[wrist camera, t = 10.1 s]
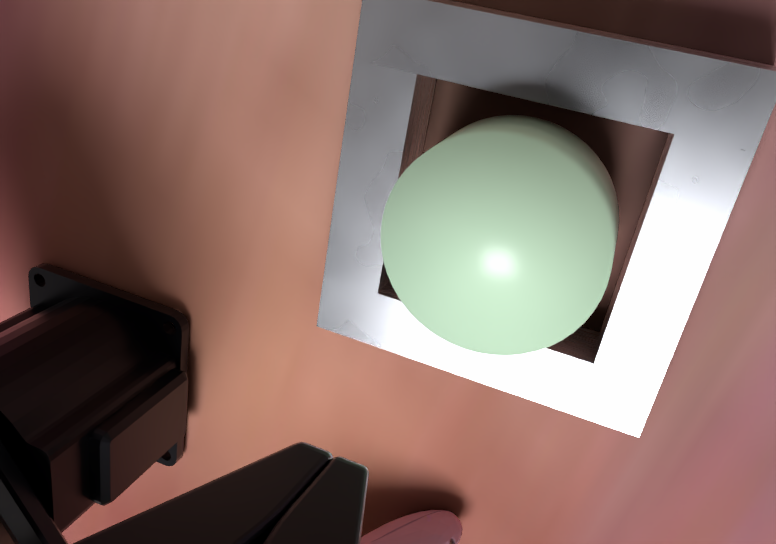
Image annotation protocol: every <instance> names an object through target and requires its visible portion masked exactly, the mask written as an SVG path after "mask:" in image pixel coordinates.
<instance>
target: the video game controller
mask: <svg viewBox="0 0 776 544" xmlns="http://www.w3.org/2000/svg"><path fill="white" fill-rule="evenodd" d="M461 535H462V525H461V522H460V520H459V519H458V518H457V516H456V515H455V514H453V513H452V512H450V511H444V510H429V511H422V512H417V513H413V514H410V515H406V516H403V517H401V518H398V519H396V520H393V521H391V522H388V523H386V524H384V525H382V526H380V527H379V528H377V529H375V530H373V531H371V532H369V533H368V534H366V535H364V536H363V537H361V542H360V544H458V543H459V540H460V537H461Z"/></svg>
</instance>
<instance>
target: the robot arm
mask: <svg viewBox="0 0 776 544" xmlns="http://www.w3.org/2000/svg"><path fill="white" fill-rule="evenodd" d="M29 290H30V305H31V308H29V309H27V310H25V311H23V312H21V313H19V314H17V315H15V316H13V317H11V318H9V319H7V320H5V321H3V322H1V323H0V544H68V543H67V541H66V539H65V538H64V536H63V535H62V532H63V531H64V530H65V529H66V528H68V527H69V526H70V525H71V524H72V523H73V522H74V521H75V520H77V519H78V518H79V517H80V516H81V515H82V514H83V513H84V512H85V511H87V510H88V509H89V508H90V507H91V506H92V505H93V504H94V503H95V502H96V503H98V504H100V505H103V506H105V505H107V504H109V503H111V502H112V501H114V500H115V499H116V498H117V497H118V496H119V495H120V494H121V493H122V492H123V491H125V490H126V489H127V488H128V487H129V486H130V485H131V484H132V483H133V482H134V481H135V480H136V479H138V478H139V477H140V476H141V475H142V474H143V473H144V472H145V471H146V470H147V469H148V468H149V467H151V466H152V465H153V464H154V463H155V462H159V463H161V464H163V465H166V466H173V465H174V464H175V463H176V462H177V461H178V460H179V459H180V458H182V456H183V446H184V435H185V433H186V419H187V399H188V377H187V363H188V342H189V323H188V321H187V319H186V317H185V316H184V315H183V314H182V313H181V312H179V311H177V310H174V309H172V308H169V307H166V306H163V305H161V304H158V303H155V302H152V301H150V300H147V299H144V298H141V297H138V296H136V295H133V294H130V293H127V292H125V291H122V290H119V289H116V288H113V287H111V286H108V285H105V284H102V283H100V282H97V281H94V280H91V279H88V278H86V277H83V276H80V275H77V274H75V273H72V272H69V271H66V270H63V269H61V268H58V267H55V266H52V265H50V264H45V263H43V264H40V265H38V266H36V267H33V268H31V270H30V271H29ZM171 323H173V324H174V326H175V328H176V329H175V328H173V326H172V325H171ZM368 477H369V471H368V469H367V467H365V466H364V465H361V464H358V463H356V462H353V461H351V460H348V459H346V458H343V457H340V456H339V457H335V458H334V457H333V456H332V454H331V453H330V452H328V451H326V450H323V449H321V448H318V447H316V446H313V445H310V444H308V443H304V442H300V443H296V444H293V445H291V446H289V447H286V448H284V449H282V450H280V451H278V452H275V453H273V454H271V455H269V456H266V457H264V458H262V459H260V460H258V461H255V462H253V463H251V464H249V465H246V466H244V467H242V468H240V469H238V470H235V471H233V472H231V473H229V474H226V475H224V476H222V477H220V478H218V479H215V480H213V481H211V482H209V483H206V484H204V485H202V486H200V487H198V488H195V489H193V490H191V491H189V492H186V493H184V494H182V495H180V496H178V497H175V498H173V499H171V500H169V501H166V502H164V503H162V504H160V505H158V506H155V507H153V508H151V509H149V510H146V511H144V512H142V513H140V514H138V515H135V516H133V517H131V518H129V519H126V520H124V521H122V522H120V523H117V524H115V525H113V526H111V527H109V528H106V529H104V530H102V531H100V532H97V533H95V534H93V535H91V536H89V537H86V538H84V539H82V540H80V541H77V542H75V543H73V544H360V542H361V534H362V525H363V517H364V509H365V501H366V493H367V485H368Z"/></svg>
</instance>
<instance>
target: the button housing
mask: <svg viewBox="0 0 776 544" xmlns="http://www.w3.org/2000/svg"><path fill="white" fill-rule="evenodd" d="M437 79H440V80H444V81H449V82H453V83H457V84H462V85H466V86H470V87H474V88H479V89H483V90H487V91H492V92H496V93H500V94H504V95H509V96H513V97H517V98H522V99H526V100H530V101H534V102H539V103H543V104H547V105H552V106H556V107H560V108H564V109H569V110H573V111H577V112H582V113H586V114H590V115H594V116H599V117H603V118H607V119H612V120H616V121H620V122H624V123H629V124H633V125H637V126H642V127H646V128H650V129H654V130H659V131H663V132H667V133H669V134H668V137H667V140H666V143H665V146H664V149H663V151H662V154H661V157H660V160H659V163H658V166H657V169H656V172H655V175H654V177H653V180H652V183H651V186H650V189H649V192H648V195H647V198H646V200H645V203H644V206H643V209H642V212H641V215H640V218H639V221H638V223H637V226H636V229H635V232H634V235H633V238H632V241H631V244H630V246H629V249H628V252H627V255H626V258H625V261H624V264H623V267H622V270H621V272H620V275H619V278H618V281H617V284H616V287H615V290H614V293H613V295H612V298H611V301H610V304H609V307H608V310H607V313H606V316H605V318H604V321H603V324H602V327H601V330H600V333H599V332H596V331H593V330H590V329H587V328H583V327H579V328H578V329H577V330H576V331H575V332H574V333H572V334H571V335H569V336H568V337H566V338H565V339H563V340H562V341H560V342H558V343H556V344H554V345H552V346H550V347H547V348H544V349H541V350H538V351H535V352H531V353H526V354H520V355H508V356H506V355H489V354H483V353H478V352H474V351H470V350H467V349H464V348H461V347H459V346H456V345H454V344H451V343H449V342H448V341H446V340H444V339H442V338H440V337H438V336H437V335H436V334H434V333H433V332H431V331H430V330H428V329H427V328H426V327H425V326H424V325H422V324H421V323H420V322H419V321H418V320H417V319H416V318H415V317H414V316H413V315H412V314H411V313H410V312H409V311H408V310H407V308H406V307H405V305H404V304H403V303H402V301H401V300H400V299H399V297H398V295H397V293H396V292H395V290H394V288H393V286H392V284H391V282H390V279H389V277H388V275H387V272H386V268H385V265H384V261H383V256H382V249H381V225H382V218H383V213H384V209H385V205H386V203H387V200H388V198H389V195H390V193H391V191H392V189H393V187H394V186H395V184H396V182H397V180H398V179H399V178H400V176H401V175H402V174H403V172H404V171H405V170H406V169H407V168H408V167H409V166H410V165H411V164H412V163H413V162H414V161H415V160H416V159H417V158H418V157H420V156H421V155H422V152H423V147H424V142H425V137H426V132H427V127H428V121H429V116H430V111H431V106H432V101H433V95H434V90H435V85H436V80H437ZM775 103H776V66H774V65H769V64H764V63H759V62H754V61H749V60H744V59H740V58H735V57H730V56H725V55H720V54H715V53H710V52H705V51H700V50H695V49H690V48H685V47H680V46H675V45H670V44H665V43H660V42H655V41H650V40H645V39H640V38H635V37H630V36H625V35H621V34H616V33H611V32H606V31H601V30H596V29H591V28H586V27H581V26H576V25H571V24H566V23H561V22H556V21H551V20H546V19H541V18H536V17H531V16H526V15H521V14H516V13H511V12H507V11H502V10H497V9H492V8H487V7H482V6H477V5H472V4H467V3H462V2H457V1H452V0H362V7H361V14H360V21H359V28H358V35H357V42H356V50H355V57H354V64H353V71H352V78H351V85H350V92H349V99H348V107H347V114H346V121H345V128H344V135H343V142H342V149H341V156H340V164H339V171H338V178H337V185H336V192H335V199H334V206H333V213H332V221H331V228H330V235H329V242H328V249H327V256H326V263H325V271H324V278H323V285H322V292H321V299H320V306H319V313H318V320H317V326H318V327H321V328H323V329H326V330H329V331H332V332H335V333H338V334H341V335H344V336H347V337H349V338H352V339H355V340H358V341H361V342H364V343H367V344H370V345H373V346H375V347H378V348H381V349H384V350H387V351H390V352H393V353H396V354H399V355H401V356H404V357H407V358H410V359H413V360H416V361H419V362H422V363H425V364H427V365H430V366H433V367H436V368H439V369H442V370H445V371H448V372H451V373H453V374H456V375H459V376H462V377H465V378H468V379H471V380H474V381H477V382H479V383H482V384H485V385H488V386H491V387H494V388H497V389H500V390H503V391H505V392H508V393H511V394H514V395H517V396H520V397H523V398H526V399H529V400H531V401H534V402H537V403H540V404H543V405H546V406H549V407H552V408H555V409H557V410H560V411H563V412H566V413H569V414H572V415H575V416H578V417H581V418H583V419H586V420H589V421H592V422H595V423H598V424H601V425H604V426H607V427H609V428H612V429H615V430H618V431H621V432H624V433H627V434H630V435H633V436H635V437H638V438H639V437H640V434H641V432H642V429H643V427H644V424H645V422H646V419H647V417H648V414H649V412H650V410H651V407H652V405H653V402H654V400H655V397H656V395H657V392H658V390H659V387H660V385H661V383H662V380H663V378H664V375H665V373H666V370H667V368H668V365H669V363H670V360H671V358H672V356H673V353H674V351H675V348H676V346H677V343H678V341H679V338H680V336H681V333H682V331H683V329H684V326H685V324H686V321H687V319H688V316H689V314H690V311H691V309H692V306H693V304H694V302H695V299H696V297H697V294H698V292H699V289H700V287H701V284H702V282H703V279H704V277H705V275H706V272H707V270H708V267H709V265H710V262H711V260H712V257H713V255H714V252H715V250H716V248H717V245H718V243H719V240H720V238H721V235H722V233H723V230H724V228H725V225H726V223H727V221H728V218H729V216H730V213H731V211H732V208H733V206H734V203H735V201H736V198H737V196H738V194H739V191H740V189H741V186H742V184H743V181H744V179H745V176H746V174H747V171H748V169H749V167H750V164H751V162H752V159H753V157H754V154H755V152H756V149H757V147H758V144H759V142H760V140H761V137H762V135H763V132H764V130H765V127H766V125H767V122H768V120H769V117H770V115H771V113H772V110H773V108H774V105H775Z"/></svg>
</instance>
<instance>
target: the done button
mask: <svg viewBox="0 0 776 544" xmlns="http://www.w3.org/2000/svg"><path fill="white" fill-rule="evenodd" d="M618 228H619V206H618V200H617V194H616V191H615V188H614V185H613V182H612V180H611V177H610V175H609V173H608V171H607V169H606V167H605V166H604V165H603V163H602V162H601V160H600V159H599V157H598V156H597V155H596V154H595V152H594V151H593V150H592V149H591V148H590V147H589V146H588V145H587V144H586V143H585V142H584V141H582V140H581V139H580V138H579V137H578V136H576V135H575V134H573V133H572V132H570V131H568V130H567V129H565V128H563V127H561V126H559V125H557V124H555V123H553V122H550V121H547V120H543V119H540V118H536V117H531V116H525V115H502V116H494V117H490V118H486V119H482V120H479V121H476V122H474V123H471V124H469V125H467V126H465V127H463V128H462V129H460V130H458V131H456V132H455V133H453V134H452V135H450V136H449V137H447V138H446V139H444V140H443V141H441V142H440V143H438V144H437V145H435V146H434V147H432V148H431V149H429V150H428V151H426V152H425V153H424V154H422V155H421V156H420V157H418V158H417V159H416V160H415V161H414V162H413V163H412V164H411V165H410V166H409V167H408V168H407V169H406V170H405V171H404V172H403V174H402V175H401V176H400V178H399V179H398V180H397V182H396V184H395V186H394V187H393V189H392V191H391V193H390V195H389V198H388V200H387V203H386V205H385V209H384V213H383V218H382V225H381V249H382V256H383V261H384V265H385V268H386V272H387V275H388V277H389V279H390V282H391V284H392V286H393V288H394V290H395V292H396V293H397V295H398V297H399V299H400V300H401V301H402V303H403V304H404V305H405V307H406V308H407V310H408V311H409V312H410V313H411V314H412V315H413V316H414V317H415V318H416V319H417V320H418V321H419V322H420V323H421V324H422V325H424V326H425V327H426V328H427V329H428V330H430V331H431V332H433V333H434V334H436V335H437V336H438V337H440V338H442V339H444V340H446V341H448V342H449V343H451V344H454V345H456V346H459V347H461V348H464V349H467V350H470V351H474V352H478V353H483V354H489V355H506V356H508V355H520V354H526V353H531V352H535V351H538V350H541V349H544V348H547V347H550V346H552V345H554V344H556V343H558V342H560V341H562V340H563V339H565V338H566V337H568V336H569V335H571V334H572V333H574V332H575V331H576V330H577V329H578V328H579V327H580V326H581V325H583V324H584V323H585V322H586V320H587V319H588V318H589V317H590V316H591V314H592V313H593V312H594V311H595V309H596V307H597V306H598V304H599V302H600V301H601V299H602V297H603V295H604V292H605V290H606V287H607V285H608V281H609V277H610V274H611V269H612V264H613V258H614V253H615V247H616V242H617V236H618Z"/></svg>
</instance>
